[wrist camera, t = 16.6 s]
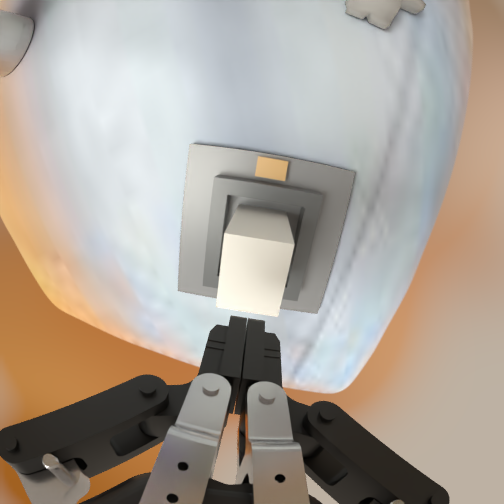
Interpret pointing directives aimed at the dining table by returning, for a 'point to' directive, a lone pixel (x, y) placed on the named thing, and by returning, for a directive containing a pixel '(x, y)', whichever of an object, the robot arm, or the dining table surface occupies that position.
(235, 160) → the socket plate
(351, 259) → the dining table surface
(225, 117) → the dining table surface
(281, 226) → the plug
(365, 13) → the bunny figurine
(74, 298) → the dining table surface
